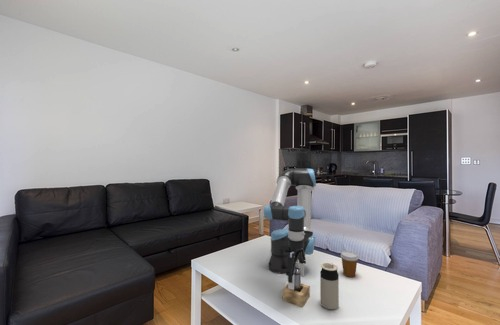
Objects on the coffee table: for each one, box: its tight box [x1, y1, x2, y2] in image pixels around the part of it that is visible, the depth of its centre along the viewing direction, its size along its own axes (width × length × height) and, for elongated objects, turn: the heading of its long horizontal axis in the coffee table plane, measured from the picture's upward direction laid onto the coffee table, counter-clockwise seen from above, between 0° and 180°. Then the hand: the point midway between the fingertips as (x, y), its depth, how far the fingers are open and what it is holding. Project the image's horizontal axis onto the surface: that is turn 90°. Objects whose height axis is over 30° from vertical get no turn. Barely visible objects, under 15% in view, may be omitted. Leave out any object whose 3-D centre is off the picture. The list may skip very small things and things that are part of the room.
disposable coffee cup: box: [340, 251, 359, 278], centre depth 135 cm, size 10×10×12 cm
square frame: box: [282, 283, 311, 308], centre depth 112 cm, size 10×10×5 cm
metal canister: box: [293, 266, 302, 292], centre depth 112 cm, size 4×4×14 cm
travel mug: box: [319, 262, 340, 310], centre depth 107 cm, size 8×8×18 cm
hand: (296, 282), depth 112 cm, fingers open, 13 cm apart
